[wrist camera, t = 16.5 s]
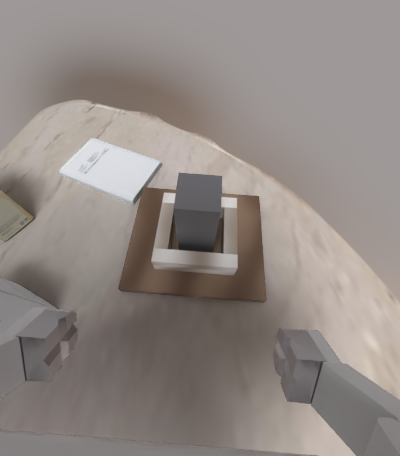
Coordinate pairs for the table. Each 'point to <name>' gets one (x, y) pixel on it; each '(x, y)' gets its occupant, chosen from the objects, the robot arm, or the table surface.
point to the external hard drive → (111, 170)
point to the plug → (197, 211)
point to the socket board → (192, 260)
